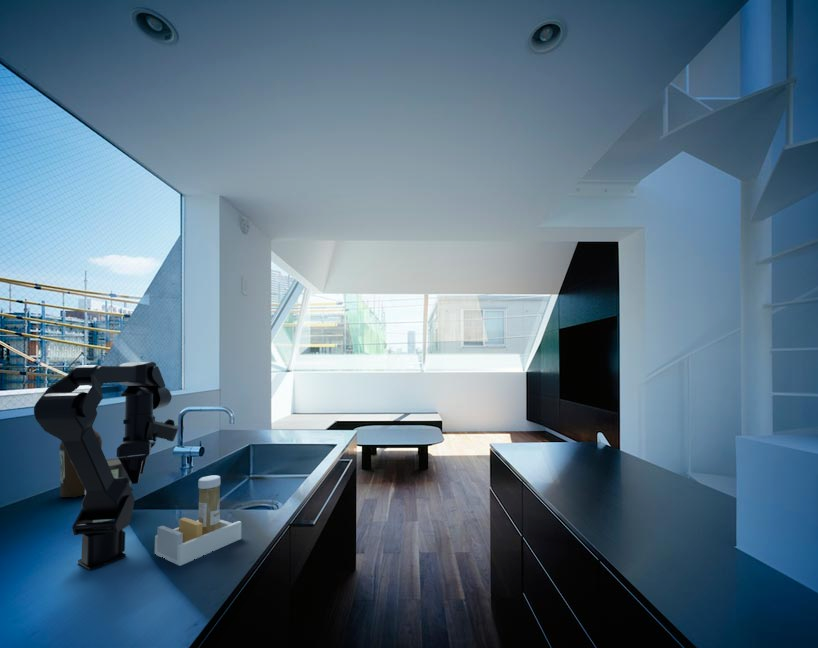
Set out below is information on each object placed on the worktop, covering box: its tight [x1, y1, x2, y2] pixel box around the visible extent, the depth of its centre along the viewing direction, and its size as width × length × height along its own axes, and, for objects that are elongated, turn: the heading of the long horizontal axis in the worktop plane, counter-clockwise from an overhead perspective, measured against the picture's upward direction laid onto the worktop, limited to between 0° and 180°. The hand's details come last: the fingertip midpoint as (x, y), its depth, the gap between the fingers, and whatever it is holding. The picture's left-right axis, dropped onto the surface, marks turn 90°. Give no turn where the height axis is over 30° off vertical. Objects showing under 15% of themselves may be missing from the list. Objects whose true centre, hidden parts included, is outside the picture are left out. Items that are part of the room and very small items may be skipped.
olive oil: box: [59, 428, 103, 498], centre depth 132 cm, size 11×11×25 cm
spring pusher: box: [178, 516, 202, 543], centre depth 90 cm, size 1×7×5 cm, turn 57°
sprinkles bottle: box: [197, 474, 221, 535], centre depth 94 cm, size 5×5×14 cm
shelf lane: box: [154, 518, 242, 566], centre depth 91 cm, size 14×10×6 cm
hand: (137, 478), depth 100 cm, fingers open, 9 cm apart
